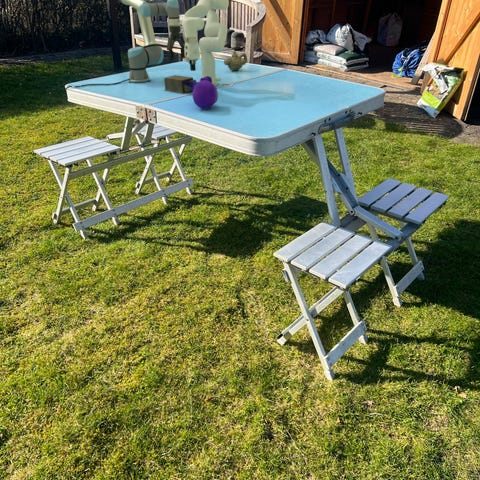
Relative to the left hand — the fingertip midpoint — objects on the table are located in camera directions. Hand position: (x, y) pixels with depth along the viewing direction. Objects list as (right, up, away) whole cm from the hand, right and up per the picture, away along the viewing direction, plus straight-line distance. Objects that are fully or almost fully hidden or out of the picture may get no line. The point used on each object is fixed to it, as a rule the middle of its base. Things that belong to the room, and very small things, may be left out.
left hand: (177, 59), depth 312 cm
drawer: (+7, -24, -7) cm, 26 cm away
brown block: (+2, -23, -3) cm, 23 cm away
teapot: (+40, +14, +58) cm, 71 cm away
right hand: (+13, -14, -18) cm, 26 cm away
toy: (+21, -45, -42) cm, 65 cm away
